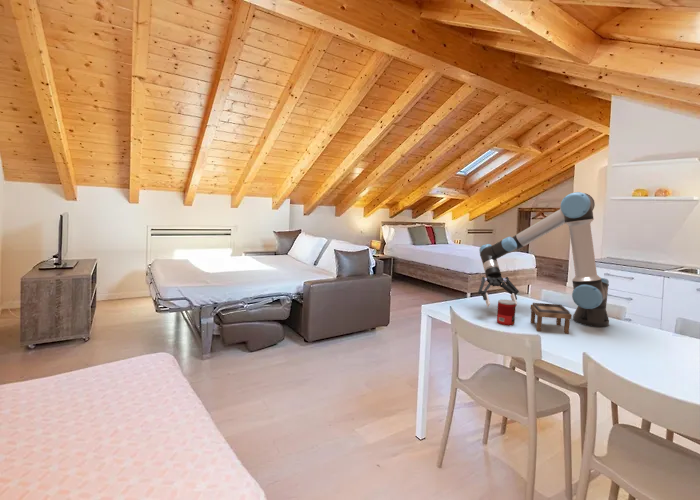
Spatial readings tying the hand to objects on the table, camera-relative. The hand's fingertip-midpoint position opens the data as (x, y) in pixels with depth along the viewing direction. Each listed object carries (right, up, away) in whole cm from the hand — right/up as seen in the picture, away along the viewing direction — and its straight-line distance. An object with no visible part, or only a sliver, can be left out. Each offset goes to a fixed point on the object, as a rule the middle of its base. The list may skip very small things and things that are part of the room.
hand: (502, 305), depth 186 cm
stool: (+19, -9, -8) cm, 23 cm away
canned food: (+1, -8, -2) cm, 9 cm away
